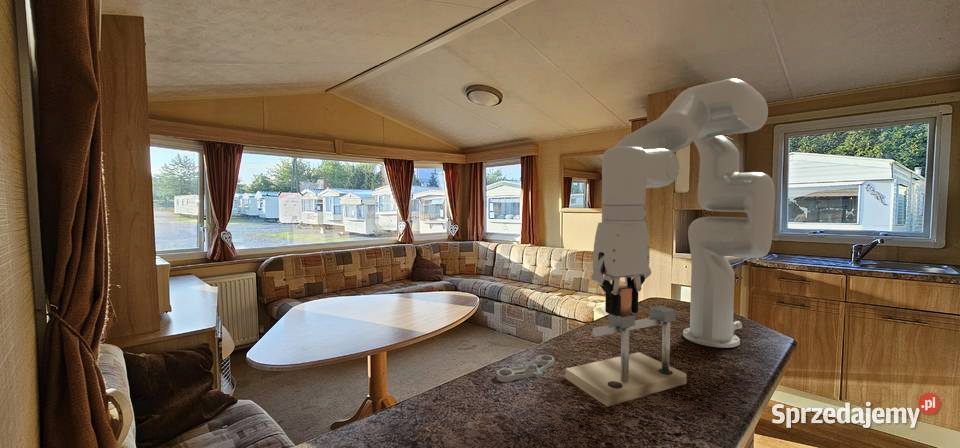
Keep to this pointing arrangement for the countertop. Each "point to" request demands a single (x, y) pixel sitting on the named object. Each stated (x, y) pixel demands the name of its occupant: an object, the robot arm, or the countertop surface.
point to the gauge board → (610, 390)
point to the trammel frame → (657, 317)
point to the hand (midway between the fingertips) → (621, 311)
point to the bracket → (526, 369)
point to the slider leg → (624, 327)
